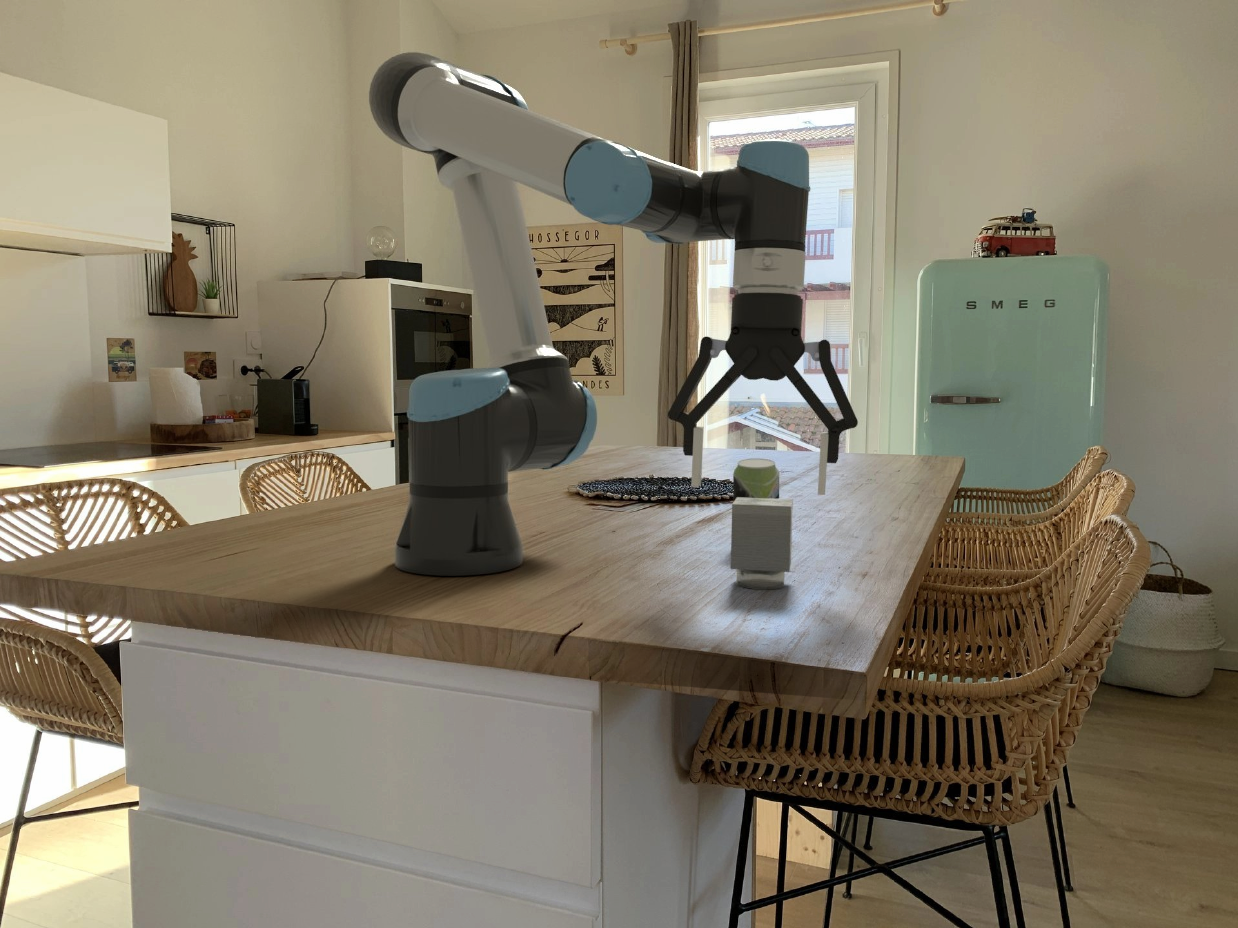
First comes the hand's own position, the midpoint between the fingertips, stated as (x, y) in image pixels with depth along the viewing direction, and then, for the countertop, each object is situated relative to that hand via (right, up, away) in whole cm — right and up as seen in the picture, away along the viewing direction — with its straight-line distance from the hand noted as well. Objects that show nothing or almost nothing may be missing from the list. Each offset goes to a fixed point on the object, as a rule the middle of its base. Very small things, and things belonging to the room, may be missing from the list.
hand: (757, 489), depth 102 cm
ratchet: (+2, -10, +6) cm, 12 cm away
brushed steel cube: (0, -8, 0) cm, 8 cm away
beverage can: (+3, -9, +22) cm, 24 cm away
